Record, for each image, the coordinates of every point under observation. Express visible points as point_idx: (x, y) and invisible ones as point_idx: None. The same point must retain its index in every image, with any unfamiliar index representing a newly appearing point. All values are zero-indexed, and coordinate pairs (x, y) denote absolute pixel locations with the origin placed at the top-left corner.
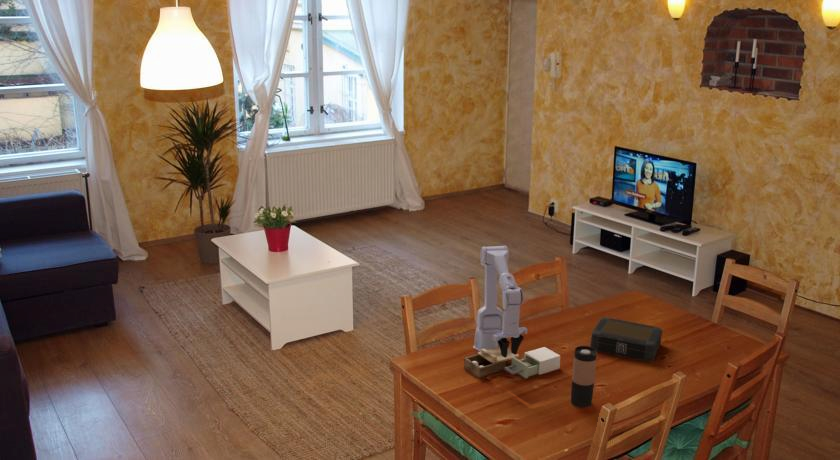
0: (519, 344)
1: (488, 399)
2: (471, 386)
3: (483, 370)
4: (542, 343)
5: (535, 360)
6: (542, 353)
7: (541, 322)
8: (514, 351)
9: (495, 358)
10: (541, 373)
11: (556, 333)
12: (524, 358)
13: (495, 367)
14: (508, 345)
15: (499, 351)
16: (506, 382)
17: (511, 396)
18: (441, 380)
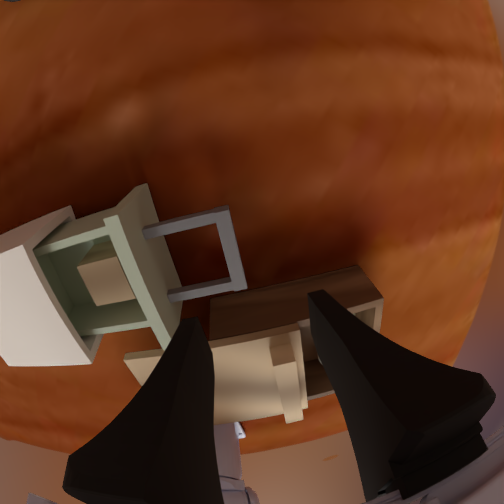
0: (139, 402)
1: (418, 90)
2: (417, 222)
3: (358, 293)
4: (40, 398)
5: None
6: (10, 324)
7: (47, 443)
8: (199, 346)
9: (282, 355)
10: (51, 216)
11: (15, 410)
12: (100, 333)
13: (280, 310)
14: (378, 386)
15: None
16: (256, 202)
17: (310, 56)
18: (453, 291)
